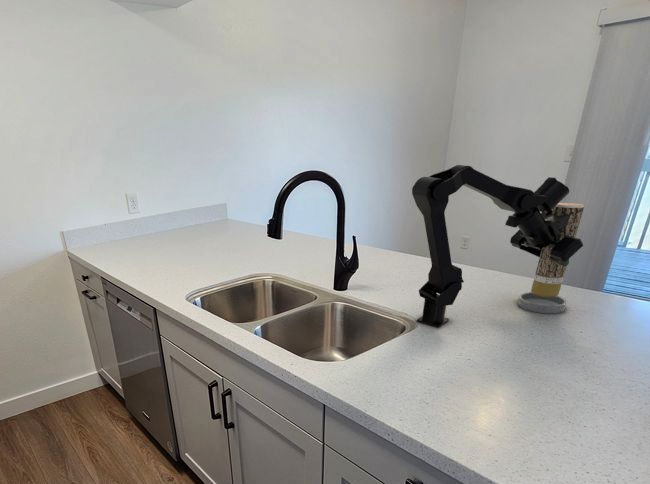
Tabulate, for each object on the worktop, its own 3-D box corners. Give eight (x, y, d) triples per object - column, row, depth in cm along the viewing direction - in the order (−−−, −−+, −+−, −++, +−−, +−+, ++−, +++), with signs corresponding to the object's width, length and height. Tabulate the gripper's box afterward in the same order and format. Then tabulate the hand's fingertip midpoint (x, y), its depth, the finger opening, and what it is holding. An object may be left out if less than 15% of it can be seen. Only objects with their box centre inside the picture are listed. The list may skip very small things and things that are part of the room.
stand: (557, 316, 120) (559, 309, 119) (511, 306, 128) (513, 299, 127) (569, 304, 127) (571, 297, 126) (525, 296, 135) (527, 289, 134)
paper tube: (561, 294, 125) (588, 204, 115) (552, 299, 121) (579, 206, 111) (535, 289, 130) (559, 202, 120) (526, 294, 126) (549, 204, 116)
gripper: (588, 206, 105) (611, 247, 112) (529, 196, 122) (552, 232, 128) (551, 241, 108) (576, 279, 114) (498, 227, 124) (522, 261, 131)
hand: (556, 261), depth 122 cm, fingers closed on paper tube, 7 cm apart
